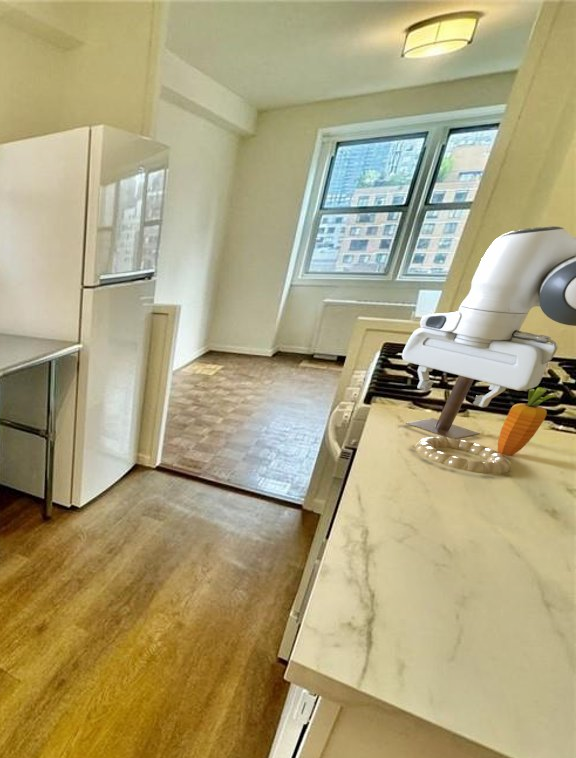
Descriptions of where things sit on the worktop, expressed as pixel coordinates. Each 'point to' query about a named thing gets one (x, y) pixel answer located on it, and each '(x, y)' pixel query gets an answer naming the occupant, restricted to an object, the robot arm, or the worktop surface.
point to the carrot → (522, 423)
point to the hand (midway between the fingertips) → (450, 397)
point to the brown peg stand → (449, 413)
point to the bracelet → (494, 465)
